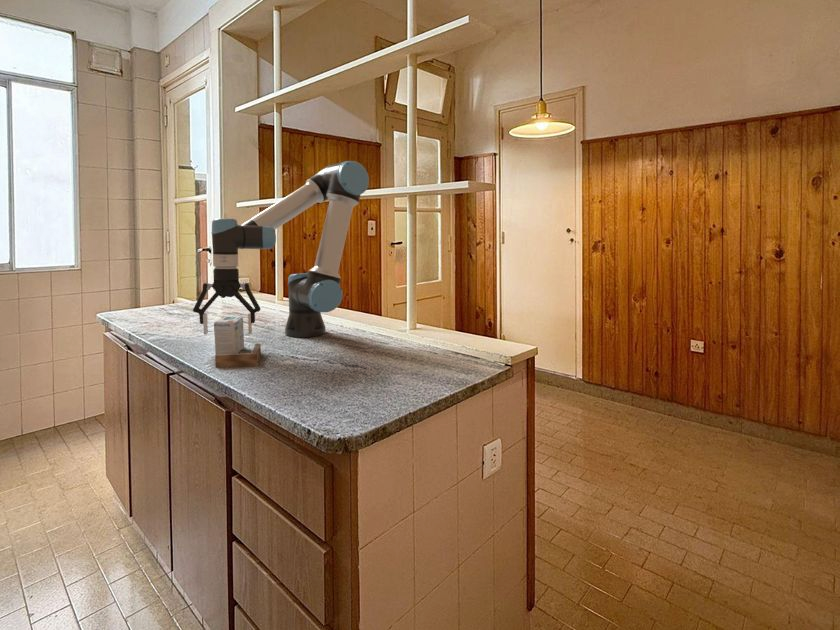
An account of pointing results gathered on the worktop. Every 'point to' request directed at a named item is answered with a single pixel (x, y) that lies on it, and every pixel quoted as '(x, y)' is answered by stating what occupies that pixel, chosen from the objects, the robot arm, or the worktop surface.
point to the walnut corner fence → (239, 358)
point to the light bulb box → (229, 335)
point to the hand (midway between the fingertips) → (228, 333)
